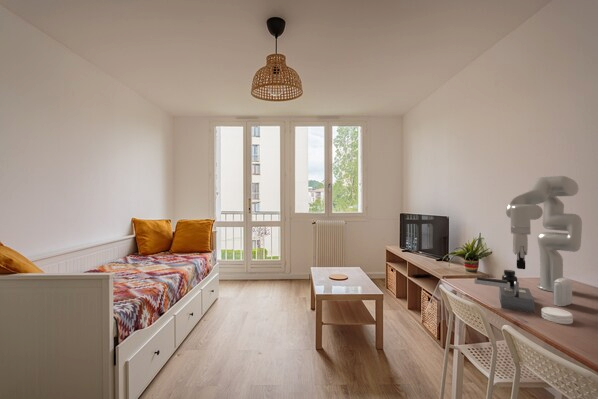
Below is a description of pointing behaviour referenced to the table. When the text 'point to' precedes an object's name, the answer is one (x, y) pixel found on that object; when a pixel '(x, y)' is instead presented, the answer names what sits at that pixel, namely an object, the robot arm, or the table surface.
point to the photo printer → (562, 292)
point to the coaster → (557, 315)
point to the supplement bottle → (510, 277)
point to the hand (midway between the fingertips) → (520, 268)
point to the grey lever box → (516, 298)
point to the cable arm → (492, 282)
